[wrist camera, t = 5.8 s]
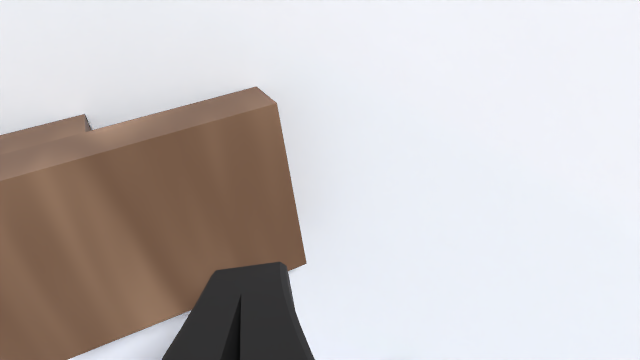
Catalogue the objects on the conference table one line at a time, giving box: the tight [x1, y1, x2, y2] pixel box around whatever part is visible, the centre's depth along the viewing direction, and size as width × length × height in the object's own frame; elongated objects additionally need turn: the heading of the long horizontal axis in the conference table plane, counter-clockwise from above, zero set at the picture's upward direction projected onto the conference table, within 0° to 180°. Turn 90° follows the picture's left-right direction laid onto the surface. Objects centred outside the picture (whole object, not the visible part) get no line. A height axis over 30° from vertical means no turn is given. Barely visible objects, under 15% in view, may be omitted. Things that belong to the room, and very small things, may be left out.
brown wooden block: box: [0, 87, 306, 360], centre depth 12 cm, size 2×5×8 cm
